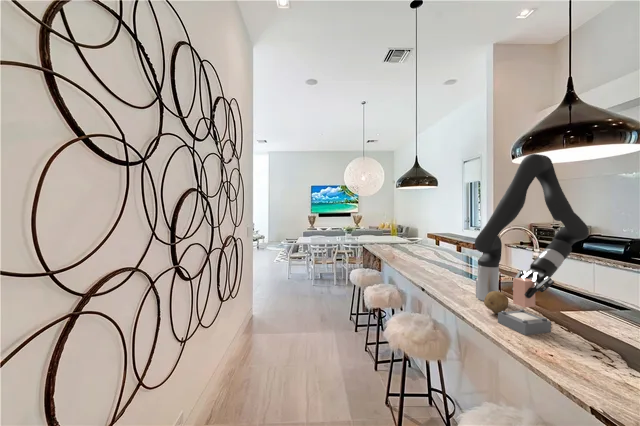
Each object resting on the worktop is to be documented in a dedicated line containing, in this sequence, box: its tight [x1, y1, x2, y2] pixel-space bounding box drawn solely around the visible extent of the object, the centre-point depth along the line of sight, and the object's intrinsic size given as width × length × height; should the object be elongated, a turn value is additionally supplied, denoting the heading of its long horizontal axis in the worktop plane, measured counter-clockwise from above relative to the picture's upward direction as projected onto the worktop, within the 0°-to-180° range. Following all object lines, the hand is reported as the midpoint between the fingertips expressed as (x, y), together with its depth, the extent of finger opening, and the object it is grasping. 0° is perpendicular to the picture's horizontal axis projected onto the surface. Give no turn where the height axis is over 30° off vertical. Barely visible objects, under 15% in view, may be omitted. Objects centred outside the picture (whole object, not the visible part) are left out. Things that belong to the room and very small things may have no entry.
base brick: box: [497, 308, 552, 336], centre depth 112 cm, size 12×12×5 cm
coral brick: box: [512, 277, 536, 309], centre depth 112 cm, size 5×5×10 cm
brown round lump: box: [483, 290, 510, 315], centre depth 126 cm, size 9×9×10 cm
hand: (520, 294), depth 111 cm, fingers closed on coral brick, 5 cm apart
